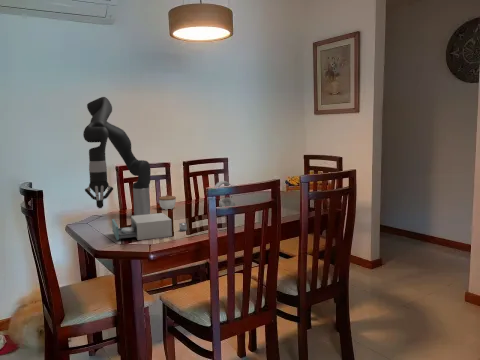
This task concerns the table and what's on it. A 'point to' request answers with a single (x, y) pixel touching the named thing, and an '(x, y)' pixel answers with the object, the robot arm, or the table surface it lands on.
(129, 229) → the disc
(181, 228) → the stand
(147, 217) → the housing
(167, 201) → the lidded jar
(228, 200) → the headphones
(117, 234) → the grey drawer
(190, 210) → the table surface
